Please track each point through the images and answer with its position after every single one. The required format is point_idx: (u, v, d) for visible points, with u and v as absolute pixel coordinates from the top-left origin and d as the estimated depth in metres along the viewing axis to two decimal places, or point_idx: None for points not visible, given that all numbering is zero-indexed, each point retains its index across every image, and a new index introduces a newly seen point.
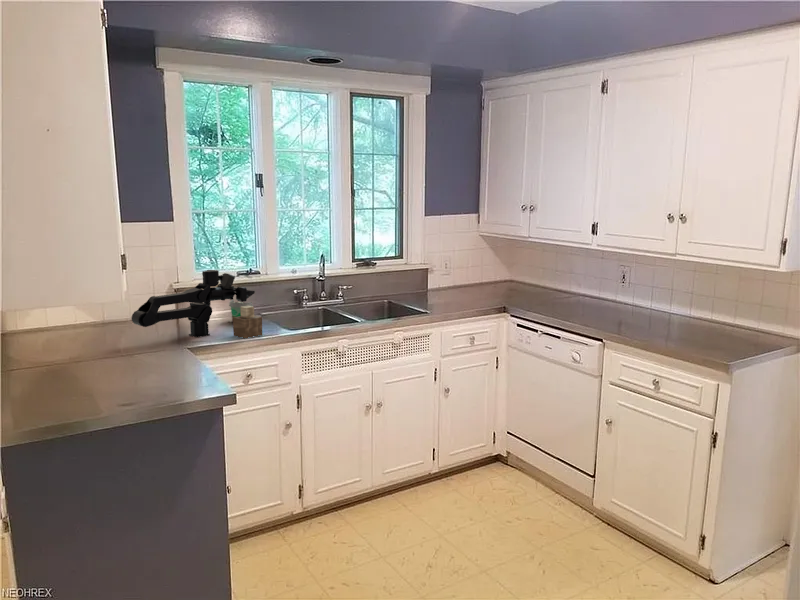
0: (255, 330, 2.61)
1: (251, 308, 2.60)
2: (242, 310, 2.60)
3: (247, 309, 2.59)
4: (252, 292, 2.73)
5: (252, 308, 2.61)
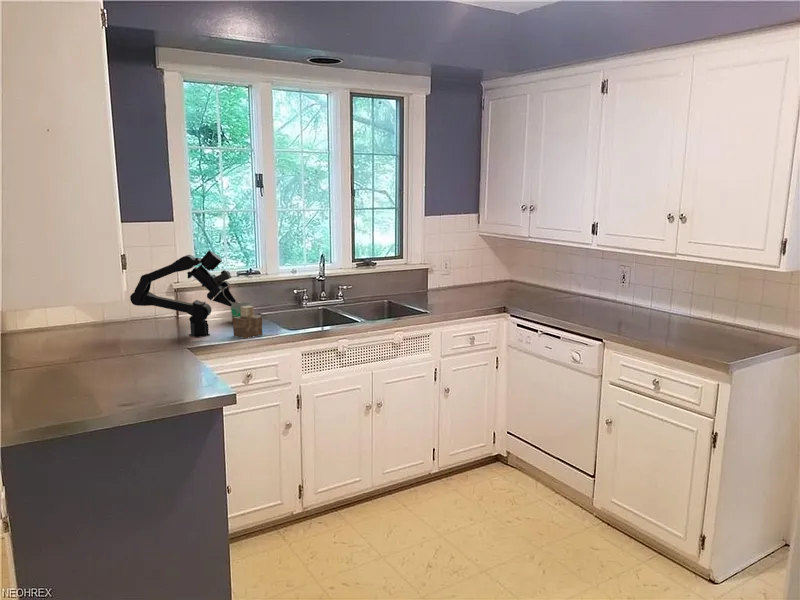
0: (255, 330, 2.61)
1: (251, 308, 2.60)
2: (242, 310, 2.60)
3: (247, 309, 2.59)
4: (228, 303, 2.55)
5: (252, 308, 2.61)
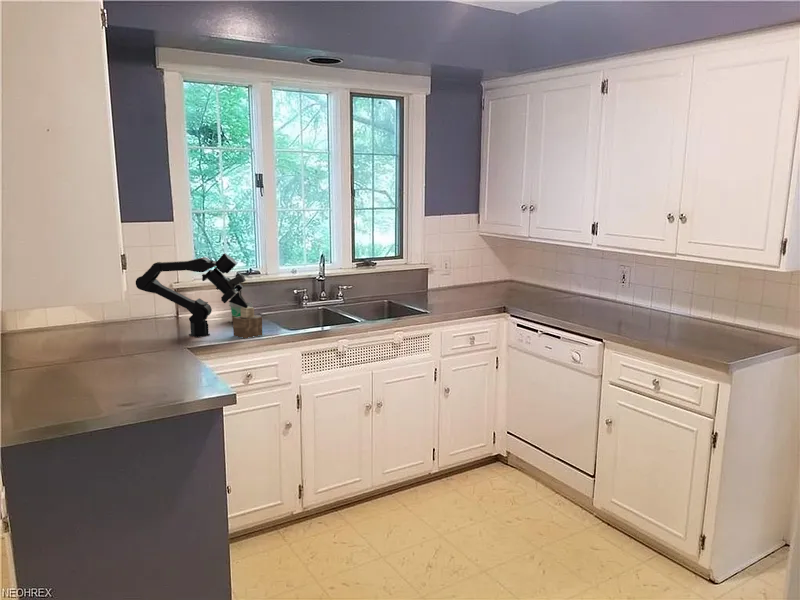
0: (255, 330, 2.61)
1: (251, 309, 2.60)
2: (242, 311, 2.60)
3: (247, 310, 2.59)
4: (244, 305, 2.60)
5: (252, 309, 2.61)
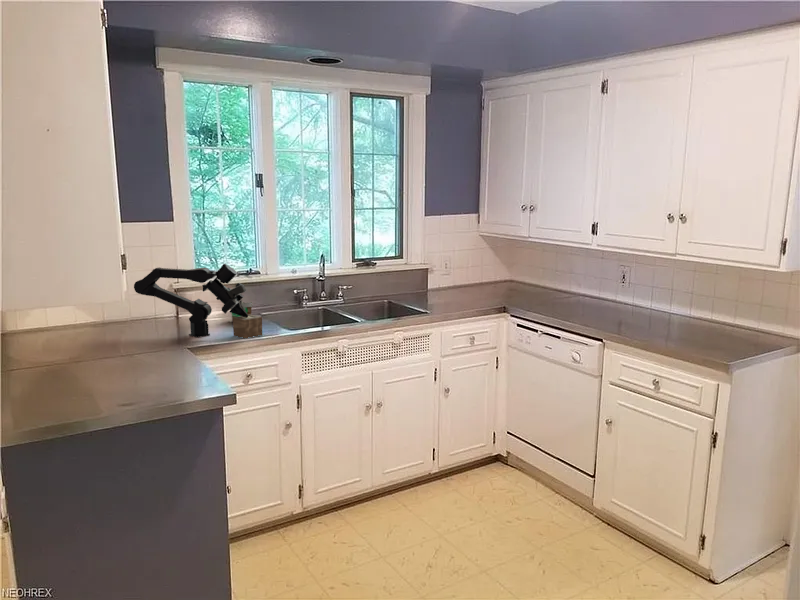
0: (255, 330, 2.61)
1: None
2: None
3: None
4: (244, 314, 2.60)
5: None
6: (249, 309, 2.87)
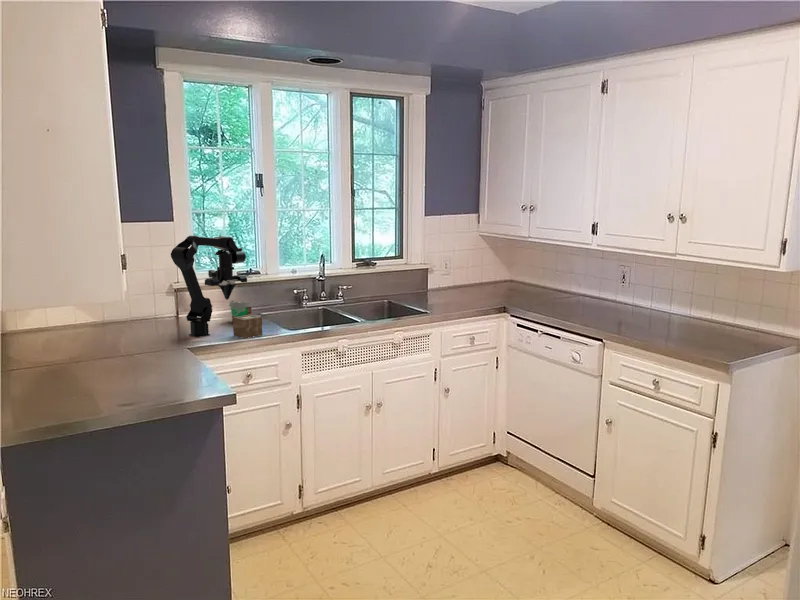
0: (255, 330, 2.61)
1: None
2: None
3: None
4: None
5: None
6: (249, 309, 2.87)
